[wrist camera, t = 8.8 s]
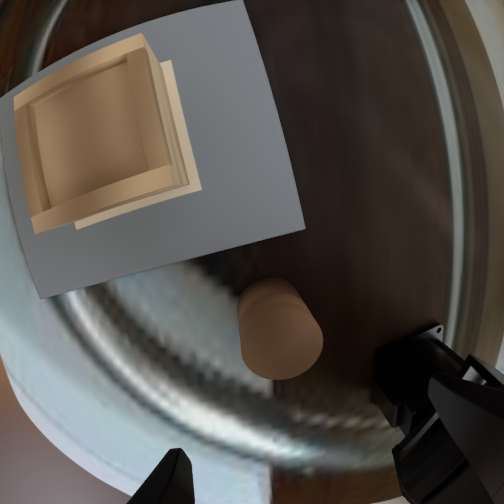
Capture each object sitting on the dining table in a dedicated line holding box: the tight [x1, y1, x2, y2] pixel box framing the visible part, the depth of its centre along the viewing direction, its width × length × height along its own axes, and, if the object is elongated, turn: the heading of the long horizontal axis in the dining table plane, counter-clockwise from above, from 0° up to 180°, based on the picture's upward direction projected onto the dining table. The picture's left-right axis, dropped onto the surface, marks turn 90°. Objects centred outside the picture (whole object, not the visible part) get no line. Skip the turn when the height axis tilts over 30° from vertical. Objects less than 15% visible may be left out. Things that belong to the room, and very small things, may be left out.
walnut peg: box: [238, 277, 323, 380], centre depth 16 cm, size 4×4×5 cm
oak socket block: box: [14, 33, 190, 234], centre depth 12 cm, size 7×7×5 cm
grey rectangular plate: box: [0, 0, 305, 299], centre depth 15 cm, size 18×15×1 cm
